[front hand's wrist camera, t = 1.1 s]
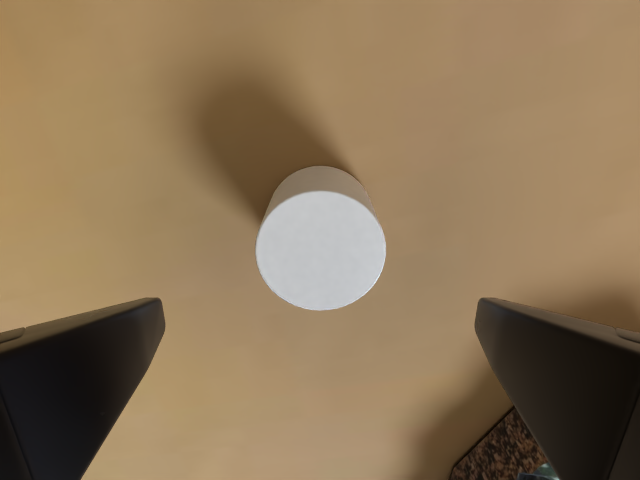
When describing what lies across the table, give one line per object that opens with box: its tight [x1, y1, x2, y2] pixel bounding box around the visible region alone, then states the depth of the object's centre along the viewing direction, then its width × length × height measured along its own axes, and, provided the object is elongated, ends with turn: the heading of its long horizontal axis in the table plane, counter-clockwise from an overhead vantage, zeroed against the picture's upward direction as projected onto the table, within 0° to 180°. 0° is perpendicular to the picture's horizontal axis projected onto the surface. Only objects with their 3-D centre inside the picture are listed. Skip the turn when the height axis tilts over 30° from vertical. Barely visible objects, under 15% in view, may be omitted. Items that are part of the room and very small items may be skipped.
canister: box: [255, 166, 386, 310], centre depth 18 cm, size 5×5×4 cm
